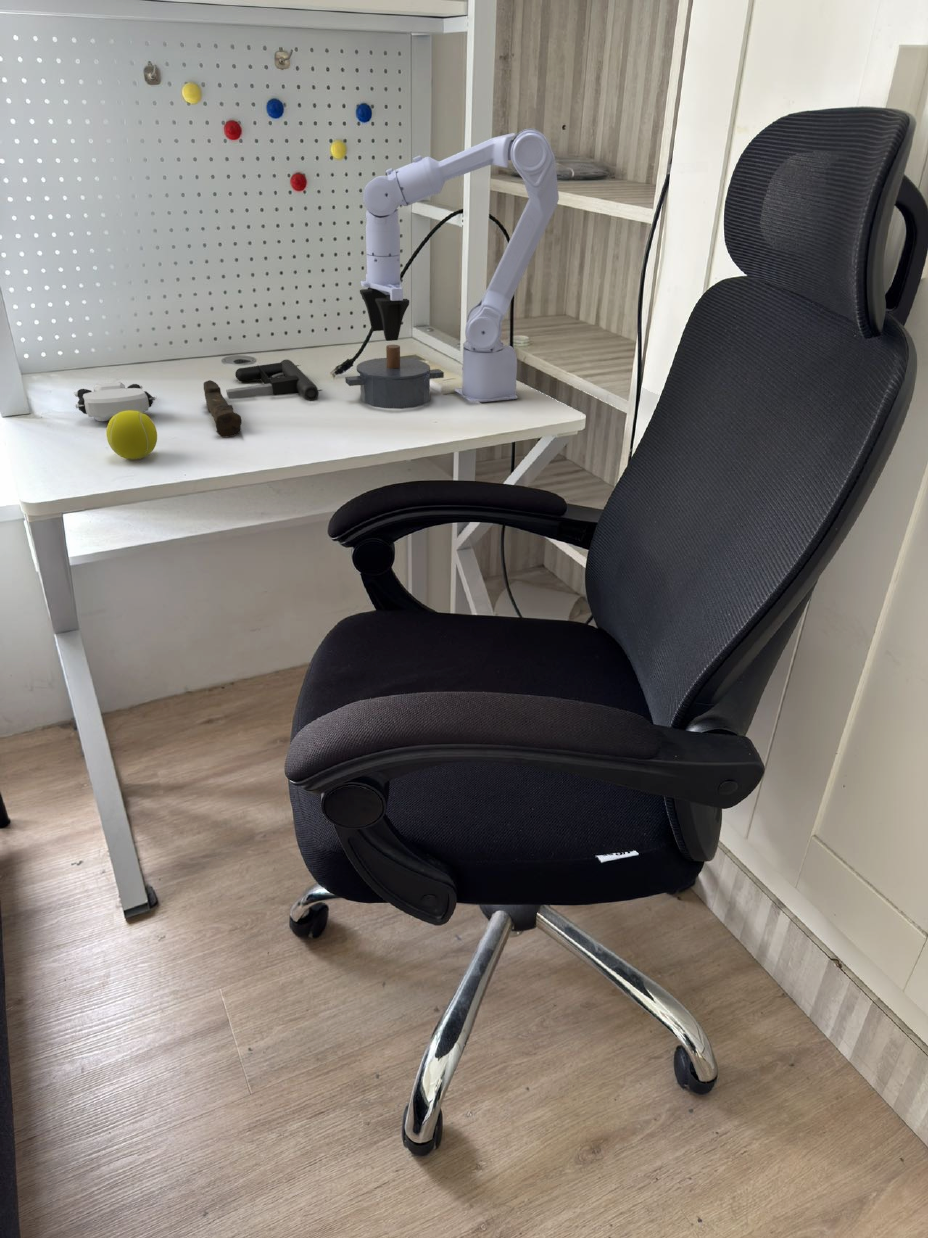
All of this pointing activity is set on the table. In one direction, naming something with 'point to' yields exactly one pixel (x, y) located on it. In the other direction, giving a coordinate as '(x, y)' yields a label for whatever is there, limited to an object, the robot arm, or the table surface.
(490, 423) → the table surface
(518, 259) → the robot arm
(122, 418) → the tennis ball
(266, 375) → the toy submachine gun
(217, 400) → the brown rough rod
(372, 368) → the pot lid
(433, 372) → the pot
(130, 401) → the robot toy
